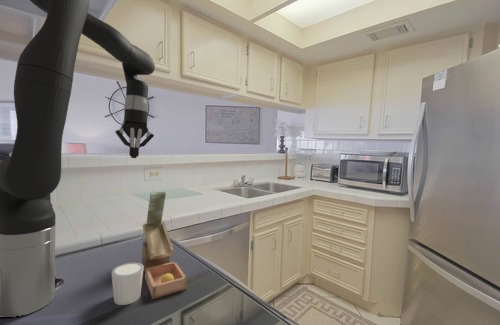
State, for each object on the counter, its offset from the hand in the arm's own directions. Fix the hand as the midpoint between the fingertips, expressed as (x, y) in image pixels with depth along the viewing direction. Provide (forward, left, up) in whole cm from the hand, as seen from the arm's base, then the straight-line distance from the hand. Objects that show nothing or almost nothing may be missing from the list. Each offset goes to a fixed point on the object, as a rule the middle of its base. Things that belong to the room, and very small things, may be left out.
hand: (133, 158), depth 83 cm
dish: (+4, -31, -32) cm, 45 cm away
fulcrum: (+4, -19, -32) cm, 38 cm away
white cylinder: (-5, -32, -32) cm, 46 cm away
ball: (+4, -33, -30) cm, 45 cm away
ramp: (+4, -19, -23) cm, 31 cm away
